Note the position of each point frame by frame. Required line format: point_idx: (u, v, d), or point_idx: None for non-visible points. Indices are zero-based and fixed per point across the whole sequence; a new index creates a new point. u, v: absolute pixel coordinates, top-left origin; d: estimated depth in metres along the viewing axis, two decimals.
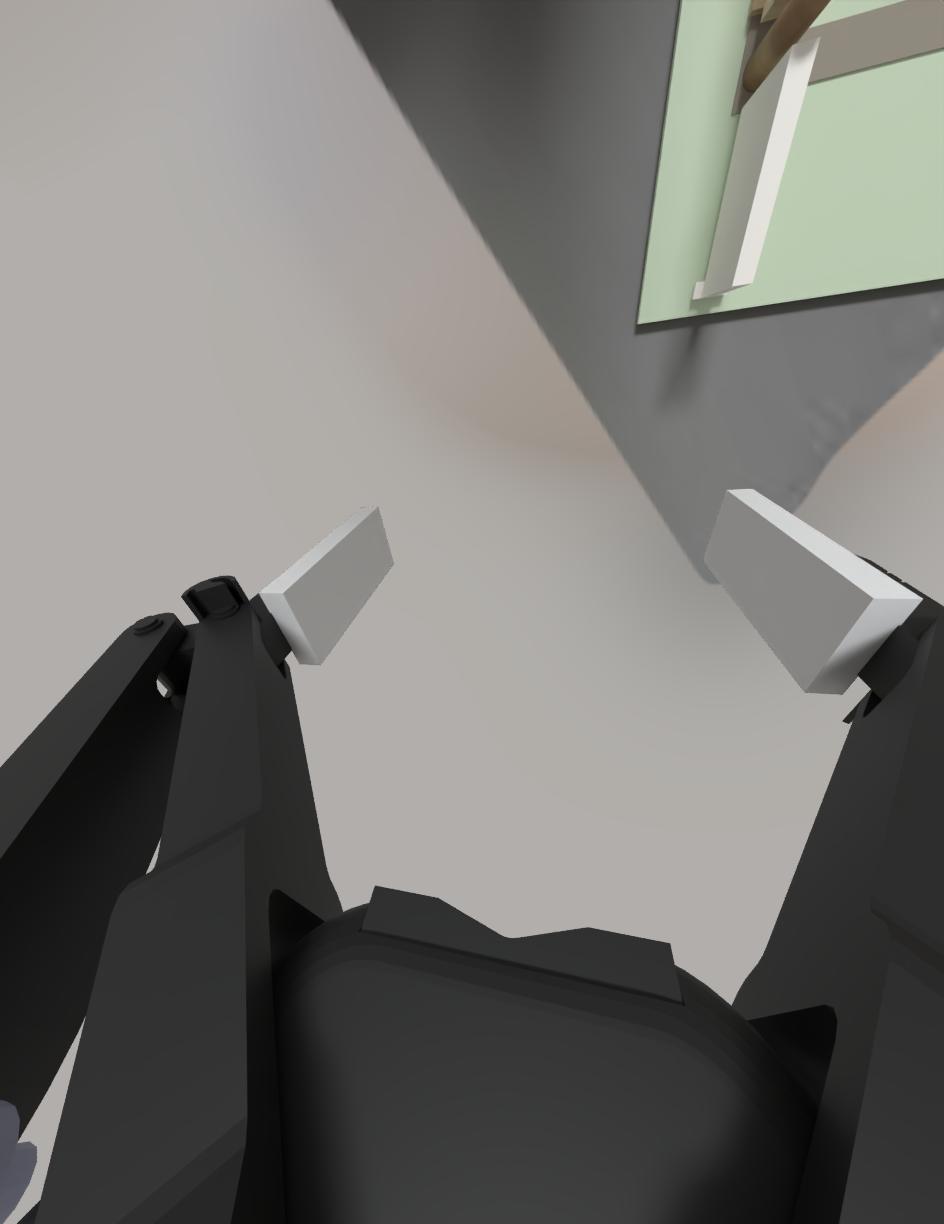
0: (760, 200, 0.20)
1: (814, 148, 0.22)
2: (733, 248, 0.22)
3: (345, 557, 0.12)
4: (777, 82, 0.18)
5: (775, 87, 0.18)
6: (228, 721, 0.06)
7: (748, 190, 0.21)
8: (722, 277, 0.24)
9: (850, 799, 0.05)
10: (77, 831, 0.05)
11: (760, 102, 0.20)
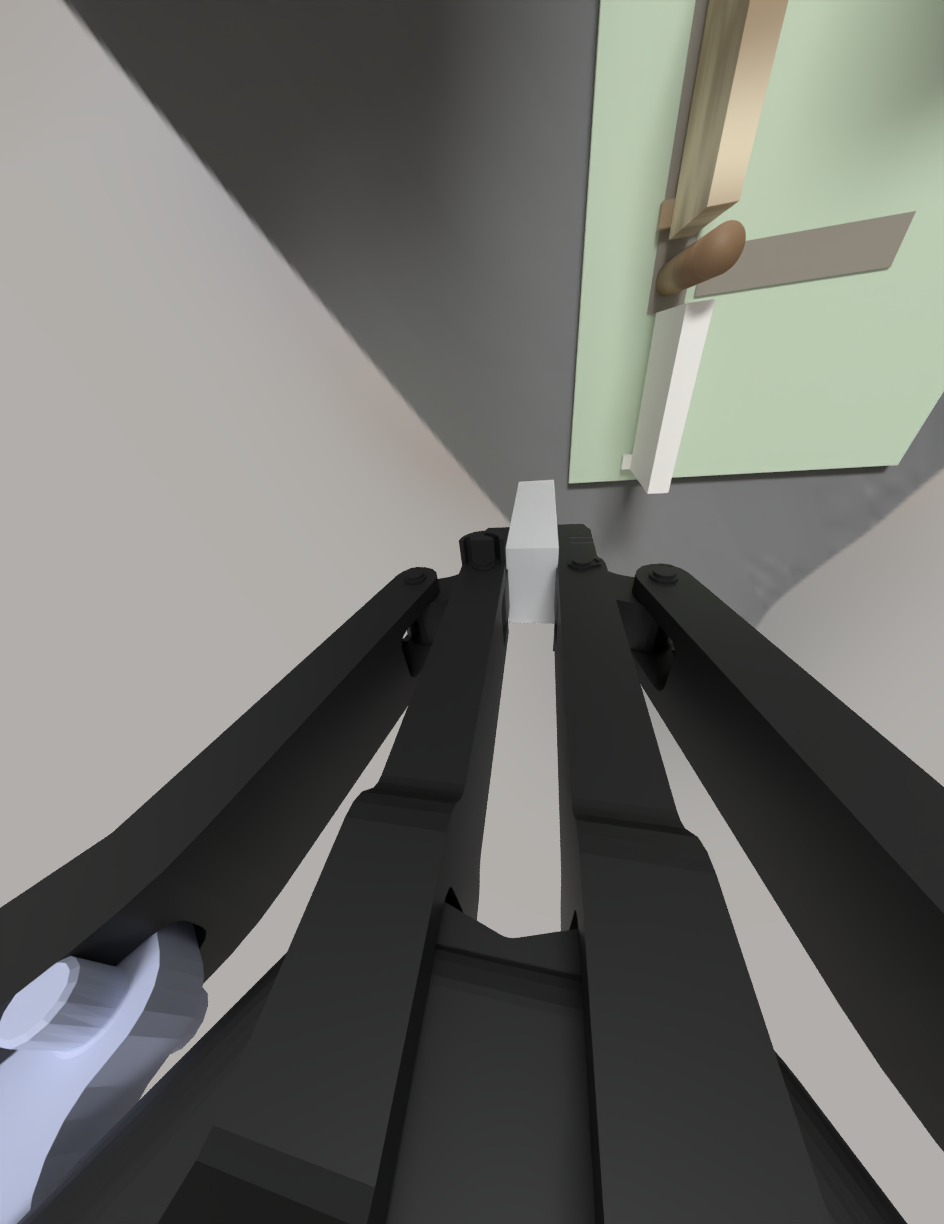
0: (668, 427, 0.19)
1: (735, 348, 0.21)
2: (648, 454, 0.21)
3: None
4: (677, 326, 0.17)
5: (676, 329, 0.17)
6: (459, 677, 0.06)
7: (658, 409, 0.20)
8: (642, 472, 0.22)
9: (560, 716, 0.07)
10: (311, 758, 0.06)
11: (666, 327, 0.18)
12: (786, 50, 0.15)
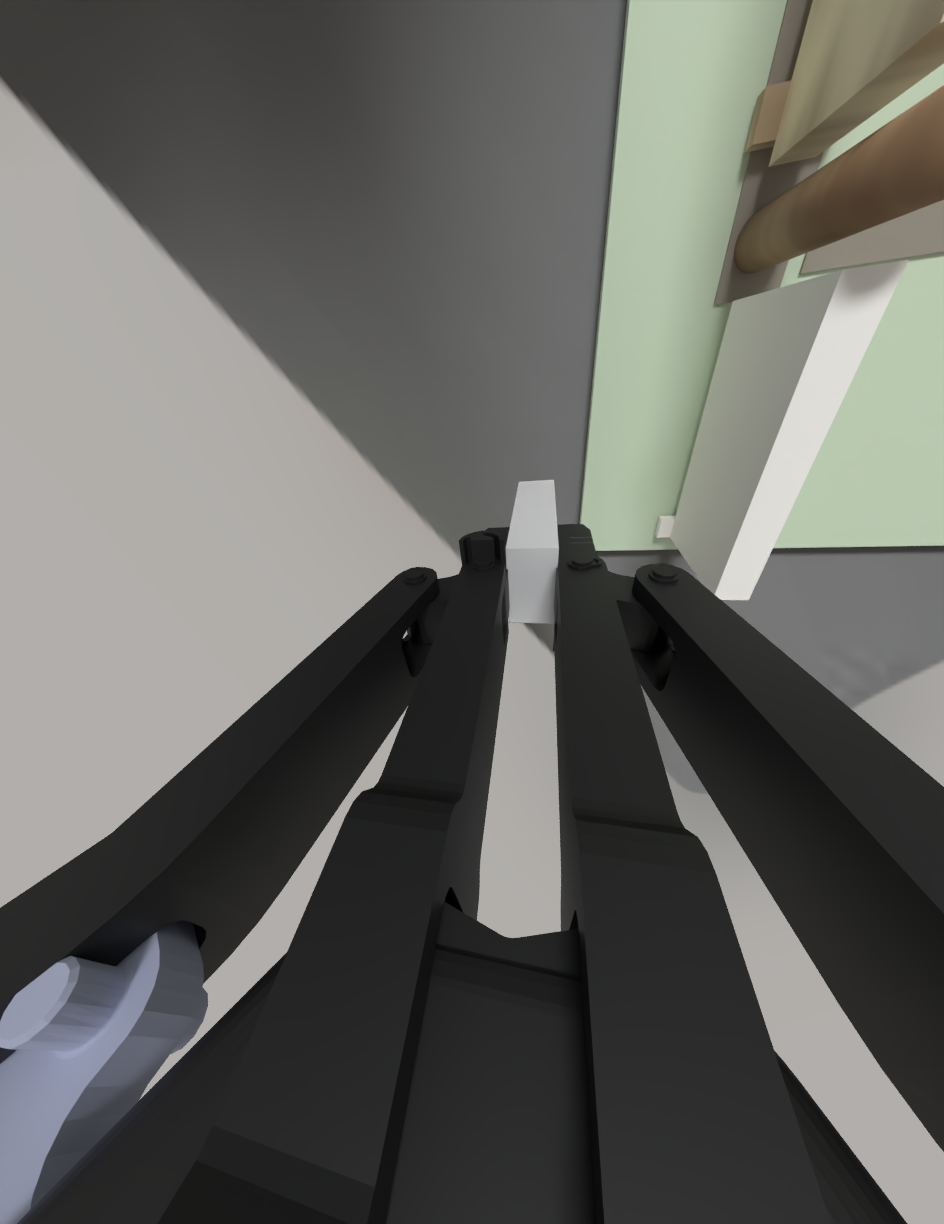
0: (764, 502, 0.11)
1: None
2: (715, 535, 0.13)
3: None
4: (803, 320, 0.09)
5: (799, 326, 0.09)
6: (459, 677, 0.06)
7: (742, 468, 0.11)
8: (698, 556, 0.14)
9: (560, 716, 0.07)
10: (311, 758, 0.06)
11: (765, 324, 0.10)
12: None
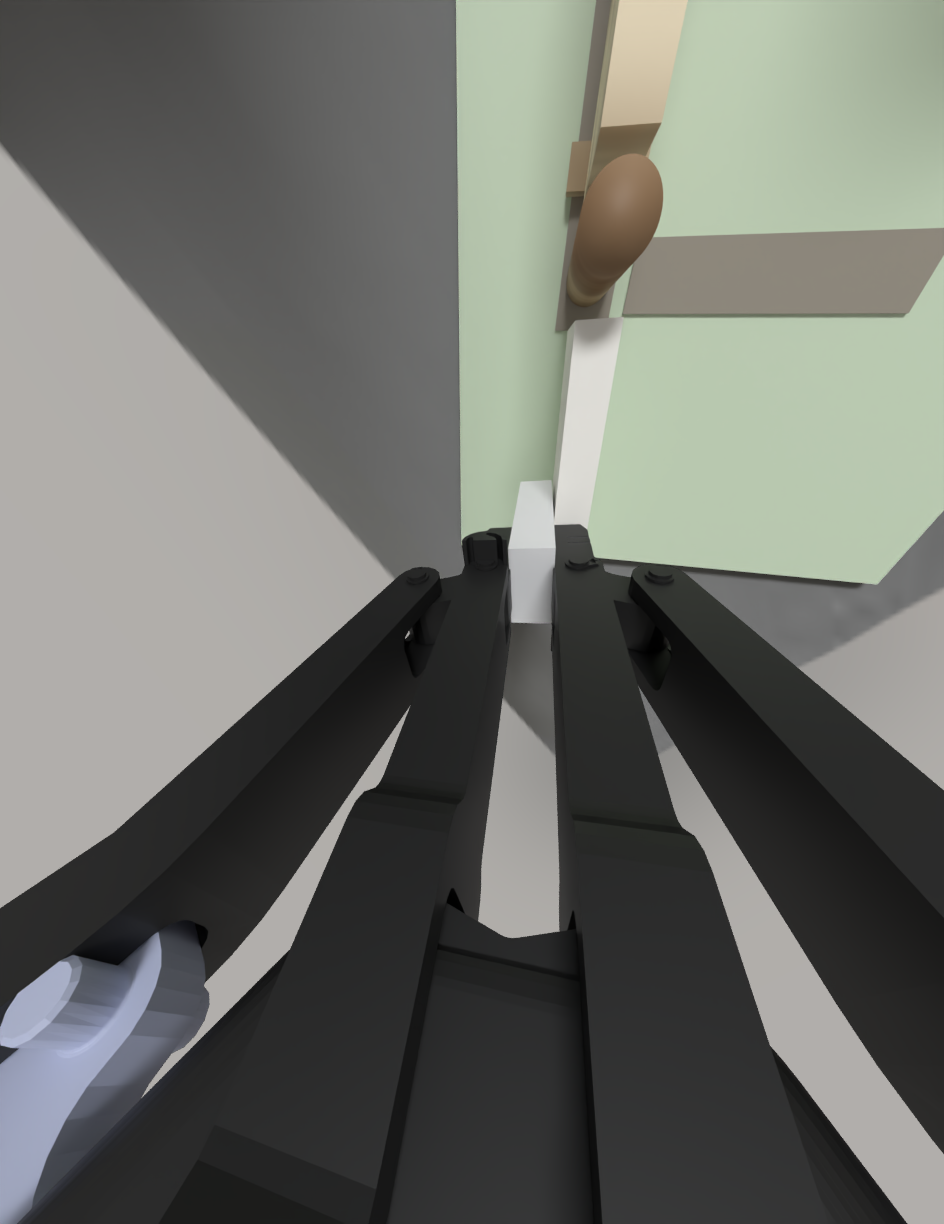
0: (565, 515, 0.12)
1: (679, 400, 0.14)
2: None
3: None
4: (570, 359, 0.10)
5: (569, 363, 0.10)
6: (461, 677, 0.06)
7: (556, 483, 0.12)
8: None
9: (558, 716, 0.07)
10: (313, 758, 0.06)
11: (567, 356, 0.11)
12: None
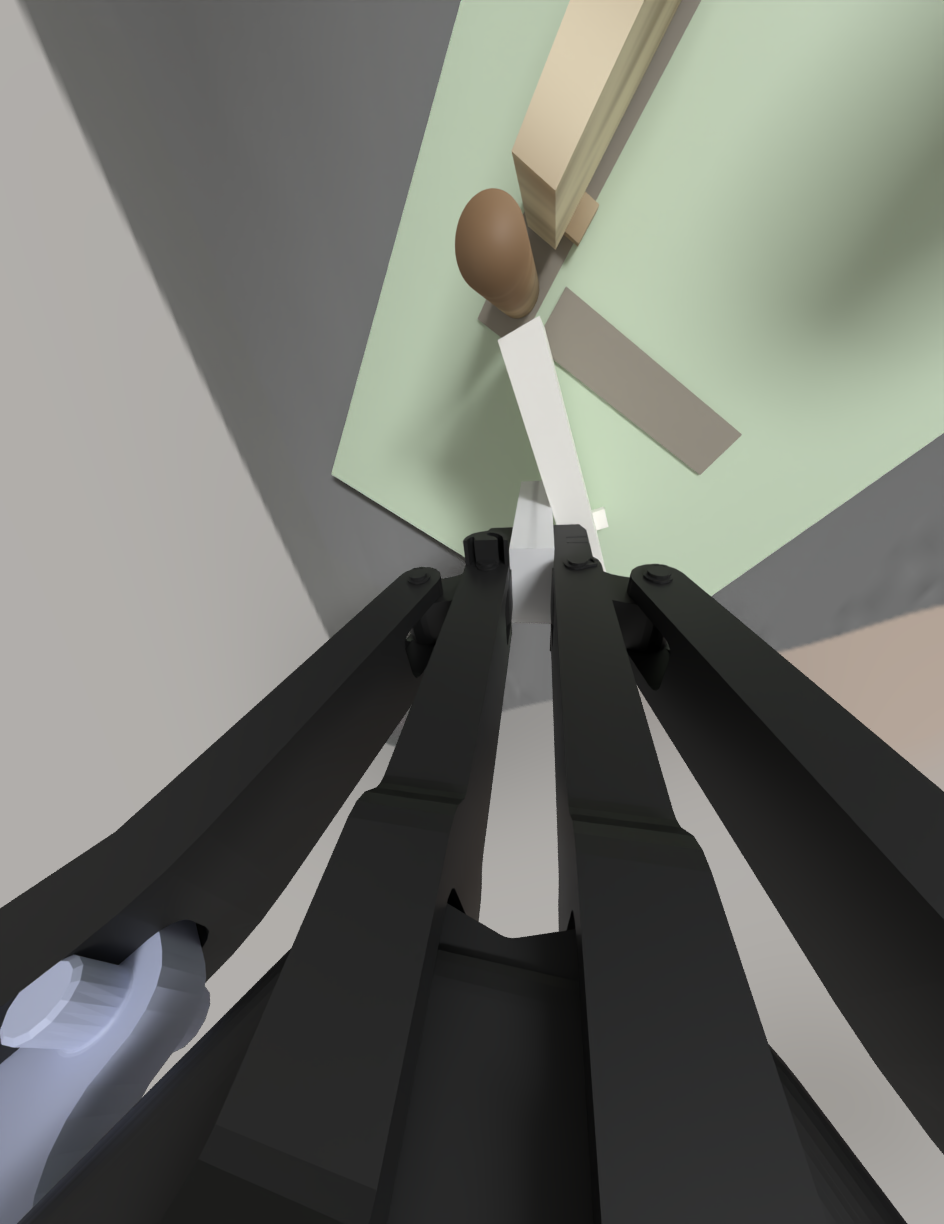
0: (563, 509, 0.12)
1: None
2: None
3: None
4: None
5: None
6: (462, 677, 0.06)
7: None
8: None
9: (557, 716, 0.07)
10: (313, 757, 0.06)
11: None
12: (749, 76, 0.10)
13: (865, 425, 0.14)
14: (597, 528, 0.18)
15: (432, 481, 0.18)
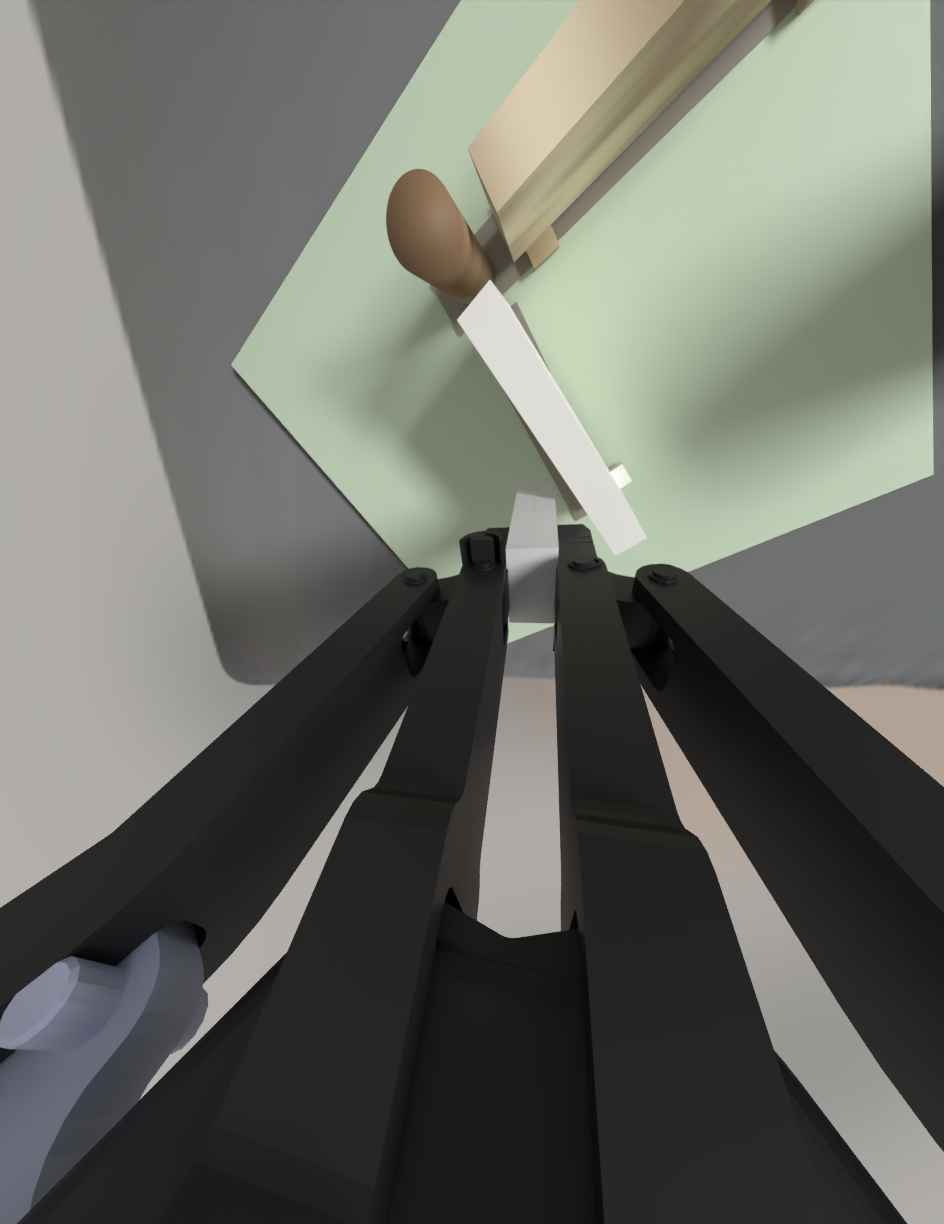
0: (571, 467, 0.11)
1: (467, 444, 0.17)
2: None
3: None
4: None
5: None
6: (459, 677, 0.06)
7: None
8: None
9: (560, 716, 0.07)
10: (311, 758, 0.06)
11: None
12: (690, 214, 0.11)
13: (688, 530, 0.18)
14: (620, 486, 0.16)
15: (346, 425, 0.17)
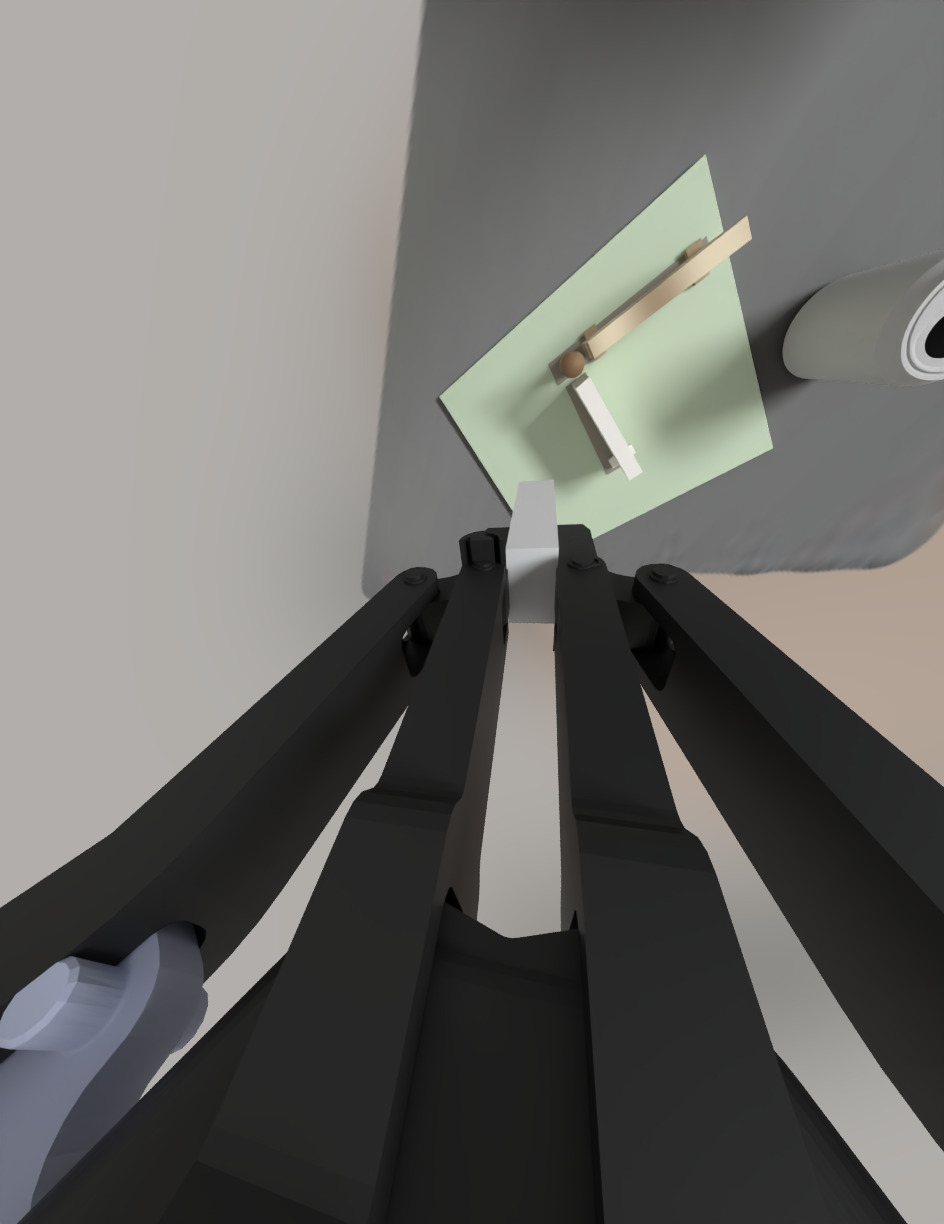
0: (613, 442, 0.28)
1: (554, 435, 0.34)
2: (615, 458, 0.30)
3: None
4: (580, 397, 0.27)
5: (581, 398, 0.28)
6: (459, 677, 0.06)
7: (602, 434, 0.29)
8: (621, 467, 0.31)
9: (560, 716, 0.07)
10: (311, 758, 0.06)
11: (578, 394, 0.29)
12: (659, 342, 0.29)
13: (664, 479, 0.35)
14: None
15: (492, 425, 0.35)
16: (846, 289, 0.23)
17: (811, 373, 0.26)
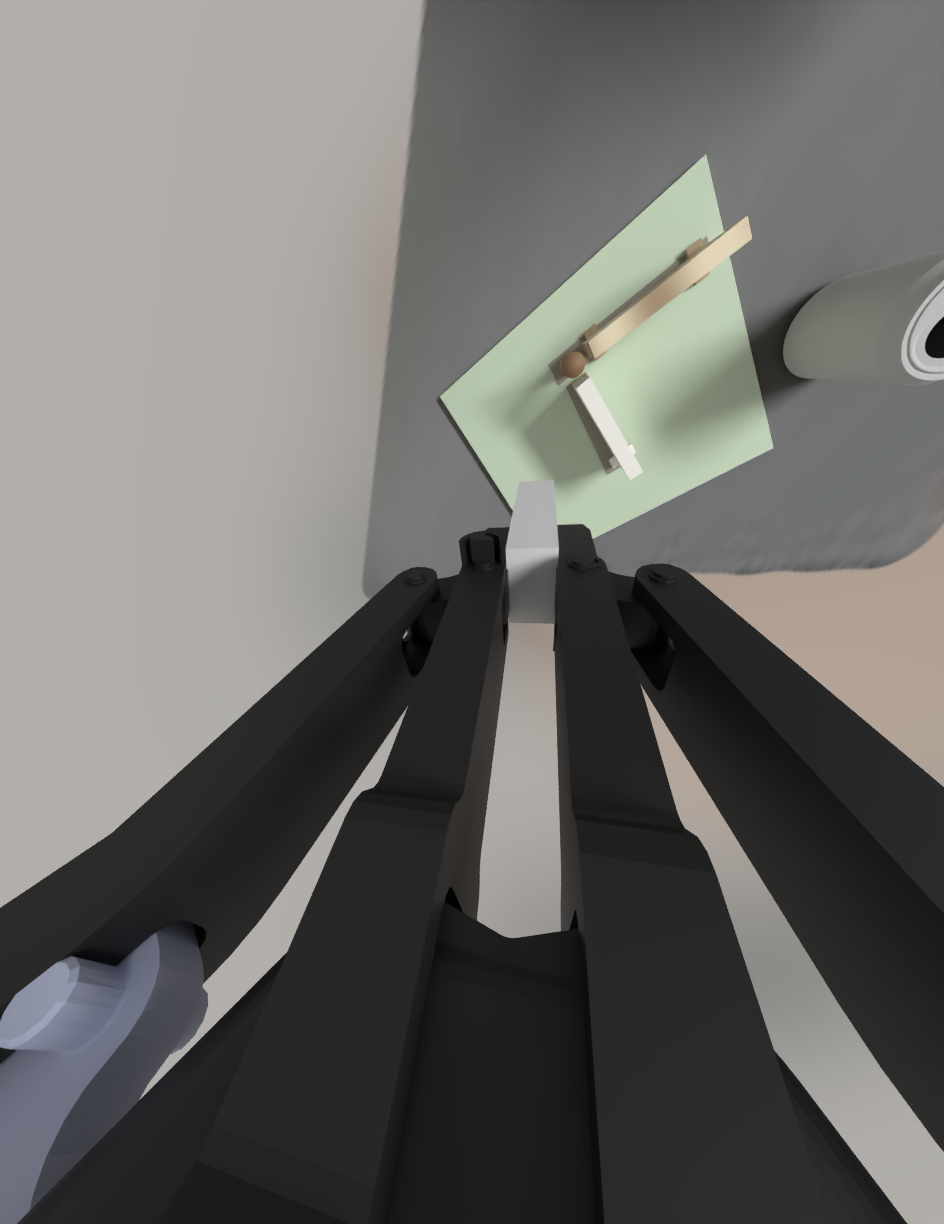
0: (613, 442, 0.28)
1: (554, 435, 0.34)
2: (616, 458, 0.30)
3: None
4: (580, 397, 0.28)
5: (581, 398, 0.28)
6: (459, 677, 0.06)
7: (602, 434, 0.29)
8: None
9: (560, 716, 0.07)
10: (311, 758, 0.06)
11: (578, 394, 0.29)
12: (659, 342, 0.29)
13: (664, 478, 0.35)
14: None
15: (492, 426, 0.35)
16: (847, 289, 0.23)
17: (811, 373, 0.26)
